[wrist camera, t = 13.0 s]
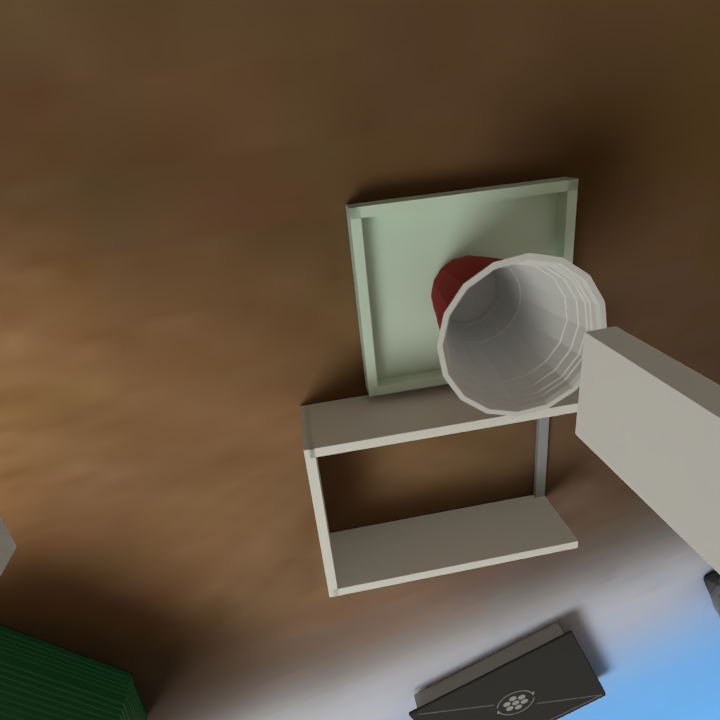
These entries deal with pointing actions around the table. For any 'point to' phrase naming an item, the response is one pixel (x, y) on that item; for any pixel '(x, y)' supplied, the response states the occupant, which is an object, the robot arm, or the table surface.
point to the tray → (440, 263)
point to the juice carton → (714, 588)
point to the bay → (433, 531)
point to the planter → (61, 684)
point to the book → (516, 683)
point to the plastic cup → (514, 329)
